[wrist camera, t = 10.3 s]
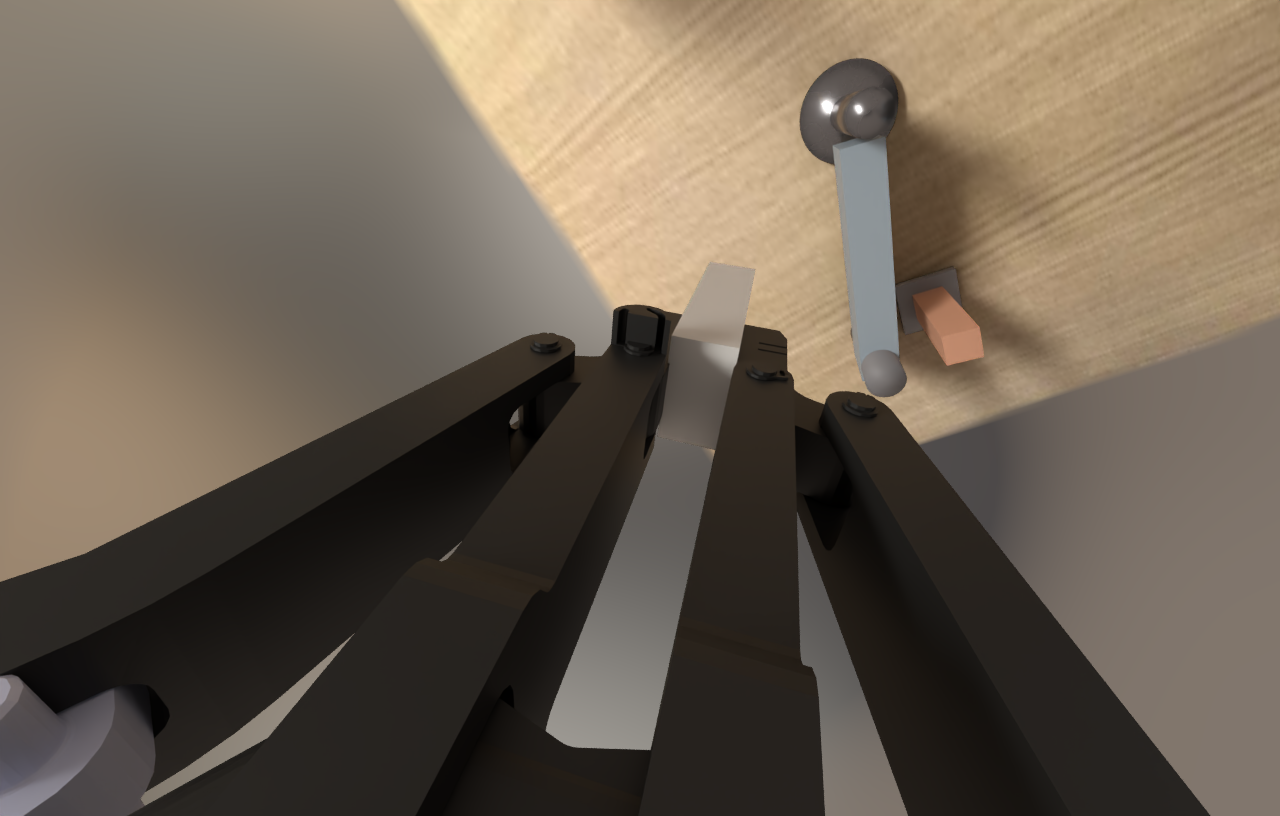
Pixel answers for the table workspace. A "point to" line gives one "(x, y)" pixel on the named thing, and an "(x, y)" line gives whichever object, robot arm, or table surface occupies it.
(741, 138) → the table surface
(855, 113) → the hinge post
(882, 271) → the gate
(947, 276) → the post
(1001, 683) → the robot arm
